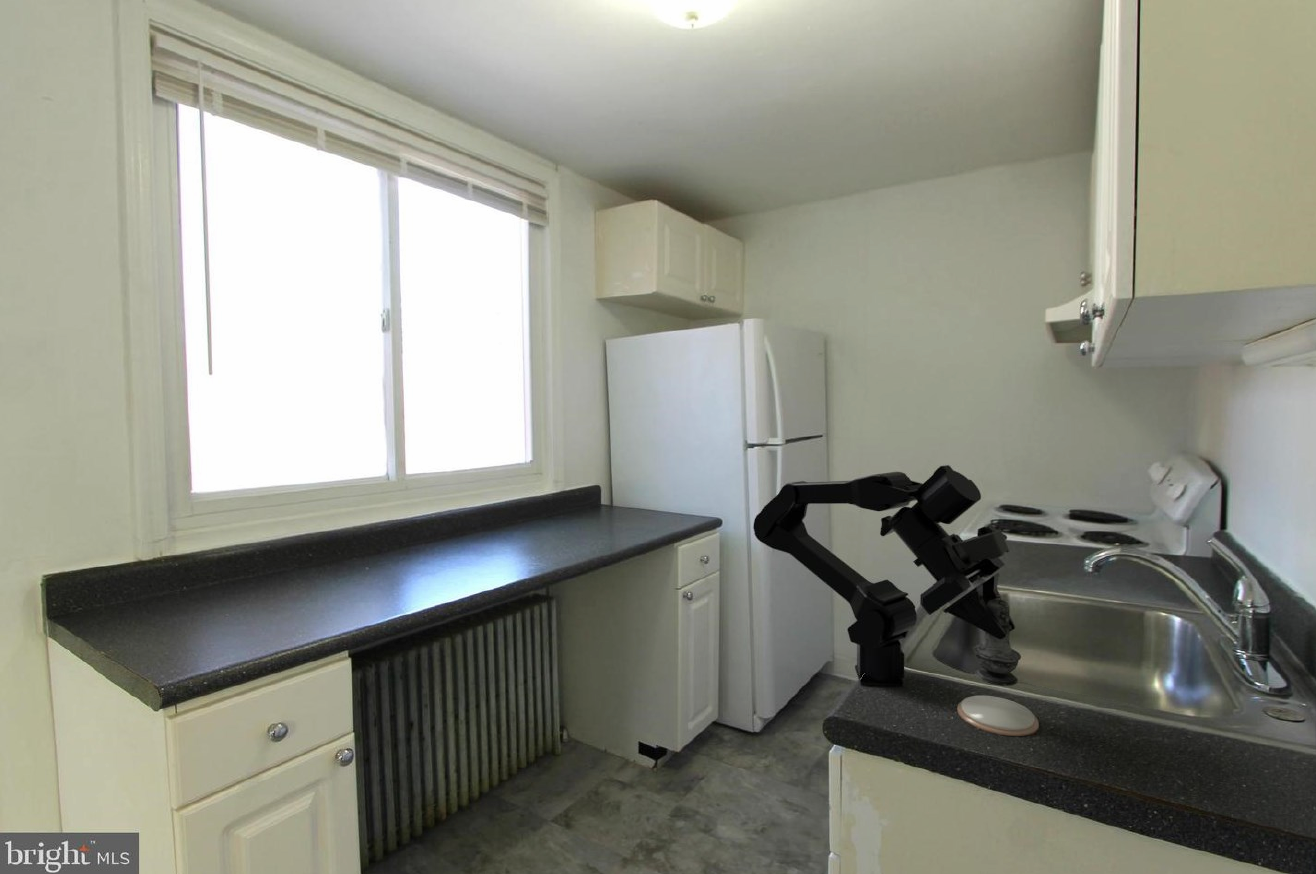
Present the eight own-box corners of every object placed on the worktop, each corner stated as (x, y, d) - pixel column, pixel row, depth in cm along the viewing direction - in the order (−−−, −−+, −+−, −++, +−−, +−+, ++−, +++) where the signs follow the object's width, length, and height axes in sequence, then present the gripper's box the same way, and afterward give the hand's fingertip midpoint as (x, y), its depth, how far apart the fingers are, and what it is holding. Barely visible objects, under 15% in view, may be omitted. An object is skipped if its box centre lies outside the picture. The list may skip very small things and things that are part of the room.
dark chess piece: (978, 684, 86) (980, 598, 85) (968, 666, 92) (970, 585, 91) (1026, 688, 85) (1029, 601, 84) (1012, 670, 90) (1015, 588, 89)
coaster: (970, 733, 84) (970, 726, 84) (948, 698, 94) (948, 692, 94) (1051, 738, 82) (1052, 731, 82) (1020, 703, 92) (1021, 696, 92)
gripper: (946, 517, 83) (1038, 620, 76) (991, 500, 96) (1073, 587, 89) (886, 565, 89) (967, 665, 82) (937, 543, 102) (1010, 627, 95)
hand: (1008, 633), depth 87 cm, fingers closed on dark chess piece, 4 cm apart
